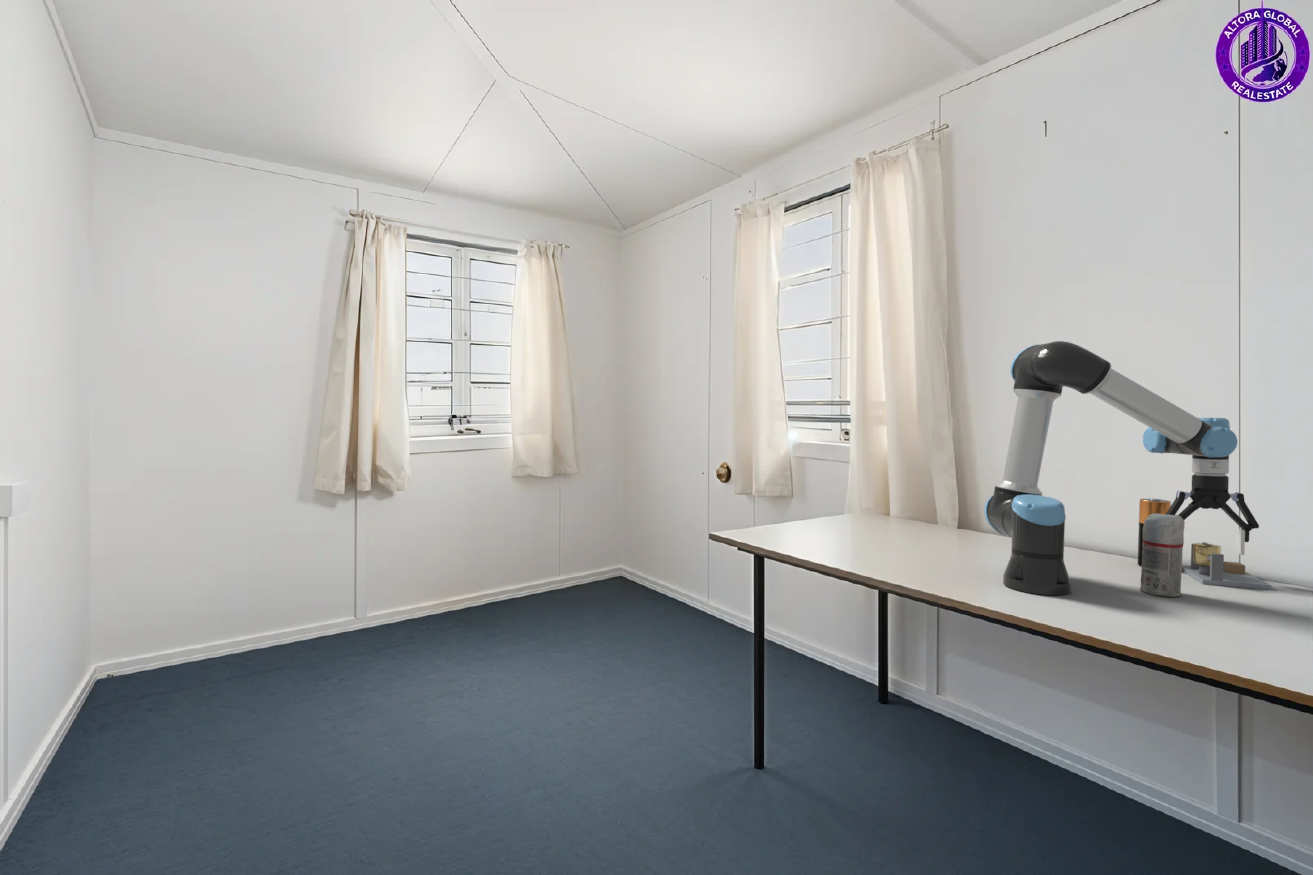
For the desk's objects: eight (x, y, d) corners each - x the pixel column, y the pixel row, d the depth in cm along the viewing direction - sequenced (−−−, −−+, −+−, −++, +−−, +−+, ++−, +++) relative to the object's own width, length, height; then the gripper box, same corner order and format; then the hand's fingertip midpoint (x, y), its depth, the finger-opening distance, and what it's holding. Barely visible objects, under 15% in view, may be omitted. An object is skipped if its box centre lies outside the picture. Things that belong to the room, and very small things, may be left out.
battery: (1138, 567, 184) (1140, 499, 183) (1136, 562, 190) (1139, 496, 189) (1169, 570, 180) (1172, 501, 179) (1167, 565, 186) (1169, 498, 185)
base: (1202, 584, 166) (1203, 553, 166) (1178, 568, 182) (1179, 540, 182) (1271, 590, 161) (1272, 558, 161) (1240, 573, 177) (1241, 544, 176)
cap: (1227, 568, 166) (1227, 548, 166) (1200, 566, 168) (1201, 546, 168) (1212, 560, 175) (1213, 541, 174) (1187, 558, 177) (1187, 539, 177)
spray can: (1190, 599, 153) (1193, 518, 152) (1151, 597, 155) (1154, 516, 154) (1169, 589, 162) (1172, 512, 161) (1133, 587, 163) (1135, 511, 162)
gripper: (1158, 474, 172) (1156, 551, 173) (1277, 477, 162) (1274, 558, 163) (1149, 471, 179) (1147, 545, 180) (1262, 474, 169) (1260, 552, 170)
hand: (1208, 552), depth 171 cm, fingers open, 13 cm apart
